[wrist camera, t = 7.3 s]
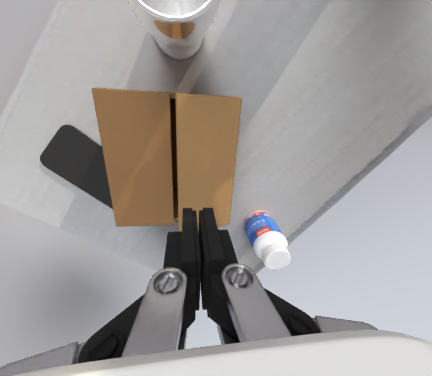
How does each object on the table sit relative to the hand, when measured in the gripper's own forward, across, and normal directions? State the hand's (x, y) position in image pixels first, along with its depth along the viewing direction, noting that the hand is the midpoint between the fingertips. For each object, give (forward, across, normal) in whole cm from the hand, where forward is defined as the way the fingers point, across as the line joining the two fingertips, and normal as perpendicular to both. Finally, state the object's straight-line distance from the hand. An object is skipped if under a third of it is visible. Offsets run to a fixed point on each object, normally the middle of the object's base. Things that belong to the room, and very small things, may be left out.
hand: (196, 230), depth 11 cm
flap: (+10, -1, 0) cm, 10 cm away
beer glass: (+21, +1, -14) cm, 25 cm away
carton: (+21, +2, 0) cm, 21 cm away
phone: (+21, +13, +5) cm, 25 cm away
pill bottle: (+21, -13, +14) cm, 28 cm away
